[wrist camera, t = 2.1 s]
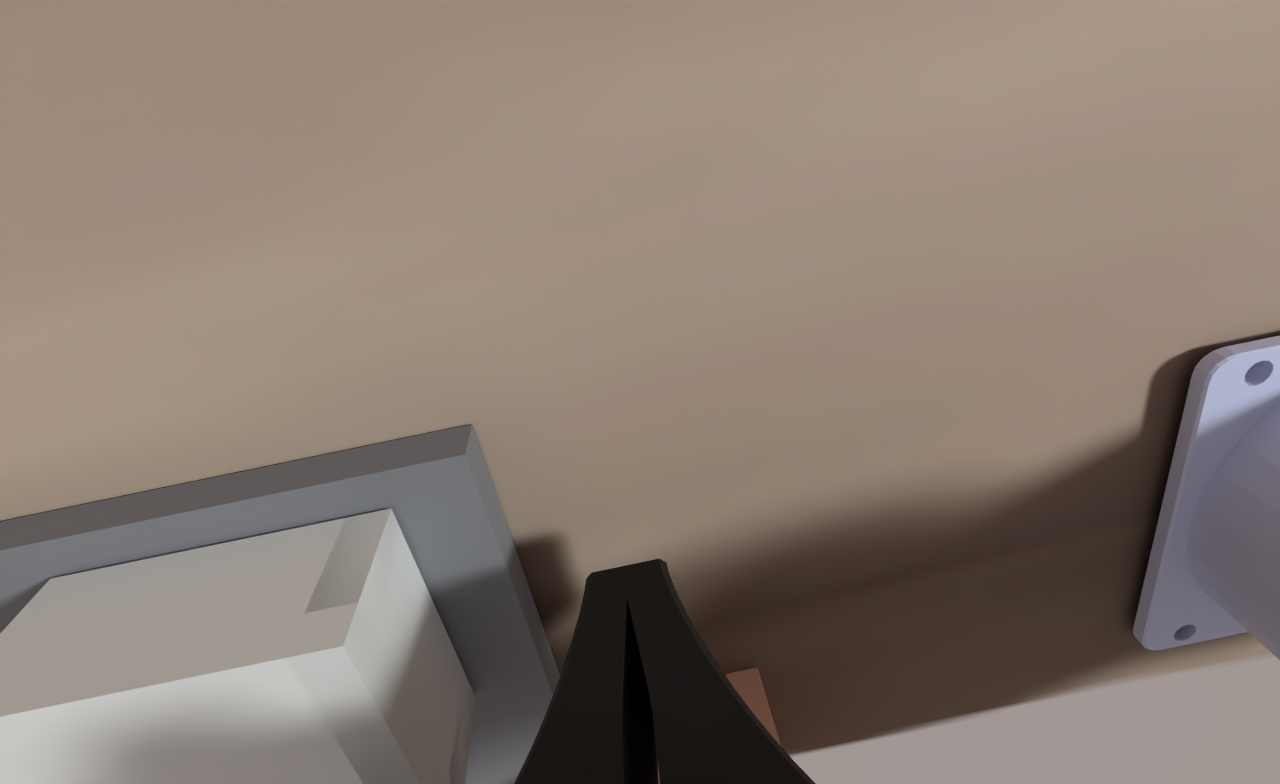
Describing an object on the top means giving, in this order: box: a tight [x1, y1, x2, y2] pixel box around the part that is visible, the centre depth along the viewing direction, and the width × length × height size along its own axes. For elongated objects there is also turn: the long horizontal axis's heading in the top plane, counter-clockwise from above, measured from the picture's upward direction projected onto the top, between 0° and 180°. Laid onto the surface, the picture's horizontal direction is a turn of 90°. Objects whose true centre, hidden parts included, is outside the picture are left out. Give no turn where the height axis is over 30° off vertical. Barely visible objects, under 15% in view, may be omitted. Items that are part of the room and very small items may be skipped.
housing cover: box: [0, 509, 476, 784], centre depth 12 cm, size 6×5×3 cm
